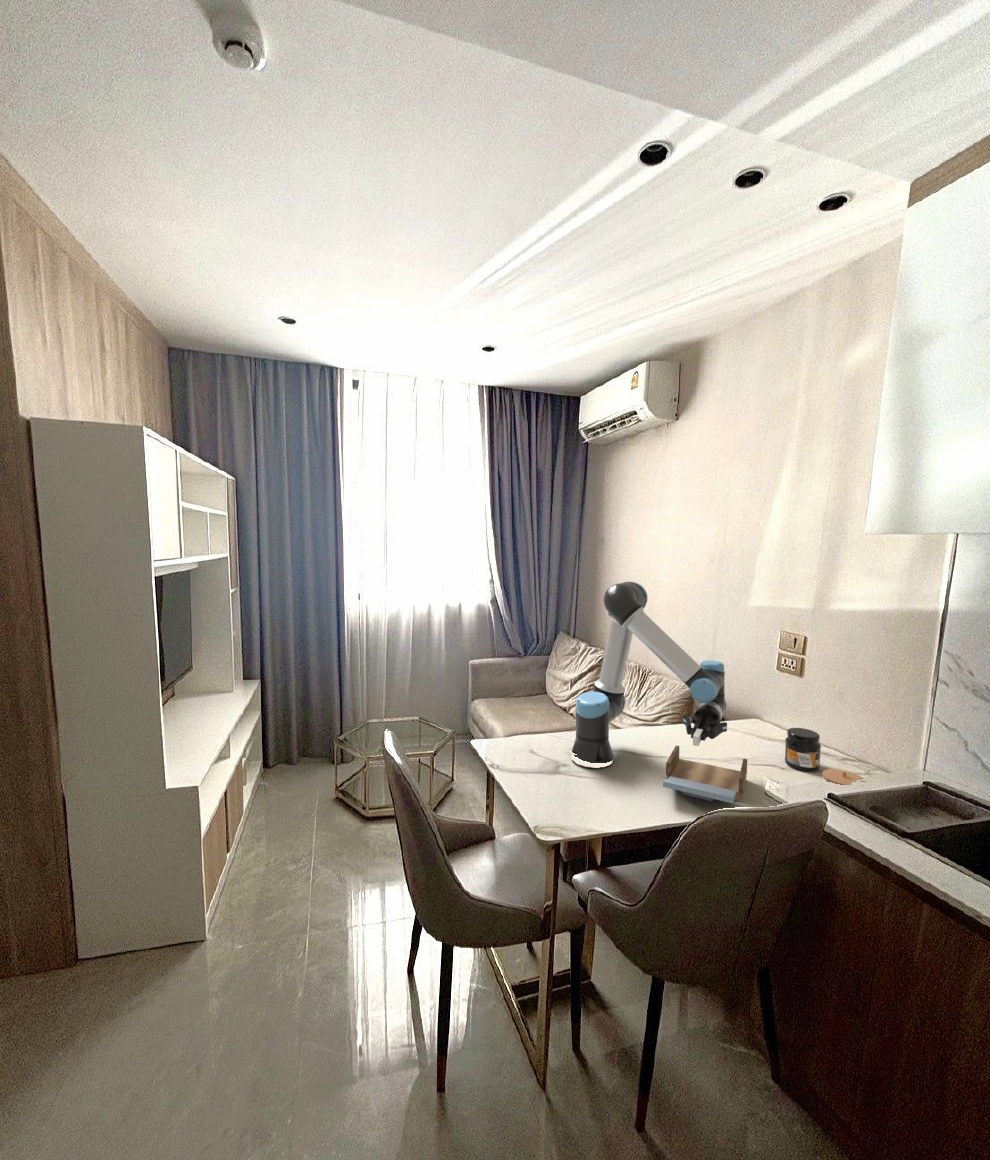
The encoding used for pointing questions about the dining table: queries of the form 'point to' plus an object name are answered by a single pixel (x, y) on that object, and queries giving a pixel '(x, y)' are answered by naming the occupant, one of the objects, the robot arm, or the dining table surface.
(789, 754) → the supplement container
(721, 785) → the cart bed
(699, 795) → the tailgate
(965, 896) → the dining table surface
